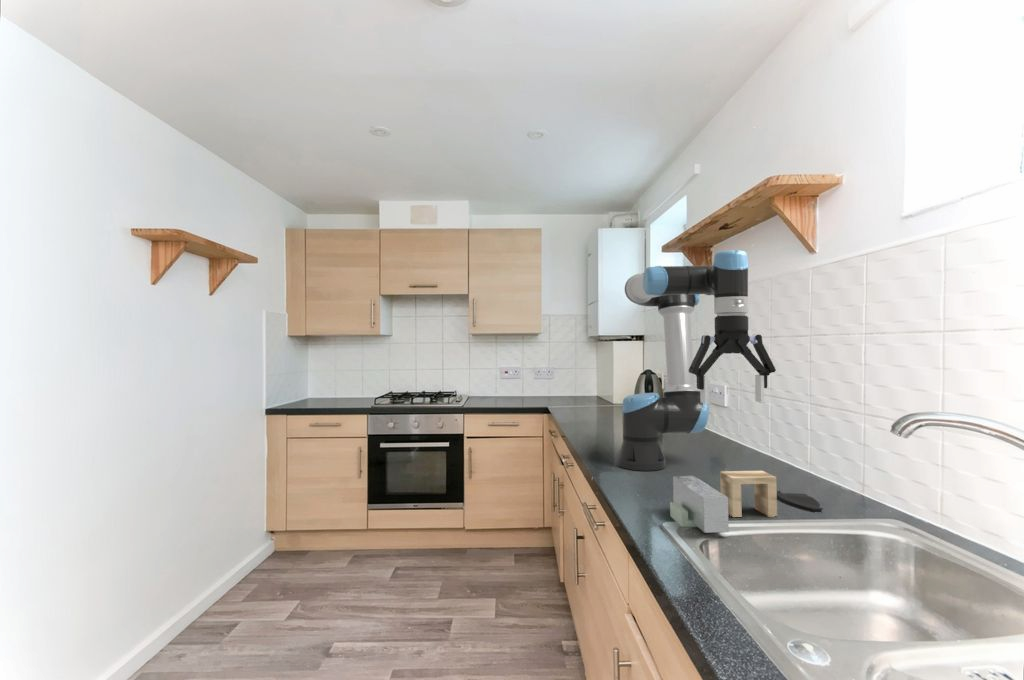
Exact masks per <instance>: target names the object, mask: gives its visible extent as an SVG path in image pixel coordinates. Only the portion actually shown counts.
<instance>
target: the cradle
mask: <svg viewBox="0 0 1024 680" xmlns="http://www.w3.org/2000/svg"><path fill="white" fill-rule="evenodd" d="M669 512H670V515H669V516H670V517H671V518H672V519H673V520H674V521H675V522H676V523H677V524H678V525H679V526H680V527H681V528H690V527H691V528H692V527H693V528H694V527H695V528H696V527H697V528H699V527H698V526H696V525H695V524H694V523H693V522H692V521H691V520H689V519H688V512H687V511H686V510H685V509H684V508H683V507H681V506H680V505H679V504H678V503H677V502H674V501H670V502H669Z"/></svg>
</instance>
